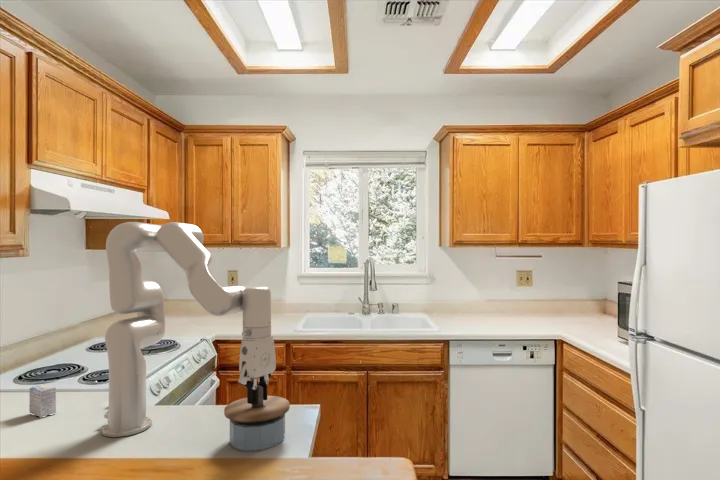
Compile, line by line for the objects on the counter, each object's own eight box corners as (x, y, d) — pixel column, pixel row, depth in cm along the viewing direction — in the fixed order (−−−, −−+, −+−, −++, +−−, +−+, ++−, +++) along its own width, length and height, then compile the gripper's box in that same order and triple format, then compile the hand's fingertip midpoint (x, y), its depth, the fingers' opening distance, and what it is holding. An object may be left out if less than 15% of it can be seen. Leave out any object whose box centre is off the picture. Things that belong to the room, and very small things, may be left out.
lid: (210, 415, 108) (210, 392, 108) (254, 396, 123) (254, 375, 123) (261, 426, 100) (261, 401, 100) (301, 404, 115) (301, 382, 115)
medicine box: (56, 414, 133) (56, 386, 134) (40, 419, 129) (40, 390, 130) (44, 410, 137) (45, 383, 138) (28, 414, 133) (29, 387, 134)
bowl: (219, 445, 108) (218, 421, 108) (255, 425, 120) (255, 404, 121) (261, 455, 101) (260, 430, 102) (295, 433, 114) (294, 411, 114)
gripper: (246, 338, 103) (246, 414, 102) (286, 328, 118) (287, 394, 117) (224, 336, 107) (224, 409, 106) (265, 327, 121) (266, 391, 120)
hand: (257, 400), depth 111 cm, fingers closed on lid, 3 cm apart
